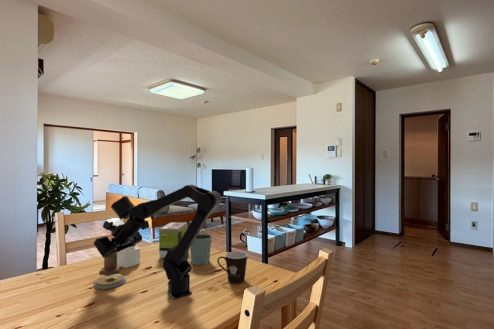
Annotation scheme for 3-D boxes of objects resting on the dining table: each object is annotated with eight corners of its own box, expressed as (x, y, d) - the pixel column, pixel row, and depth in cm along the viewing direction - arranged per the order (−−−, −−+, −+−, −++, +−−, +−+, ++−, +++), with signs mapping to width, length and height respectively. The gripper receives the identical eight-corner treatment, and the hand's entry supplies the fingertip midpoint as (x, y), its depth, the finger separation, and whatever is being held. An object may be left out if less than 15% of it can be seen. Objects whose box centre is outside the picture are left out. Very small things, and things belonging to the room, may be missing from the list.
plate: (120, 275, 114) (120, 273, 114) (129, 283, 105) (129, 281, 105) (90, 282, 106) (90, 280, 106) (97, 292, 98) (97, 289, 98)
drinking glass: (185, 262, 128) (185, 236, 129) (199, 256, 137) (199, 232, 137) (201, 267, 123) (202, 240, 123) (215, 260, 132) (216, 235, 132)
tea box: (170, 249, 150) (170, 221, 150) (188, 249, 149) (188, 222, 149) (158, 258, 135) (158, 227, 135) (178, 259, 134) (178, 228, 134)
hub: (118, 274, 112) (118, 271, 112) (126, 281, 105) (126, 278, 105) (94, 280, 106) (94, 277, 106) (100, 288, 99) (100, 285, 99)
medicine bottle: (140, 263, 127) (140, 237, 127) (125, 268, 121) (126, 241, 121) (130, 260, 131) (130, 235, 131) (116, 265, 125) (116, 238, 125)
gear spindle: (118, 267, 111) (118, 237, 111) (124, 272, 106) (124, 240, 106) (97, 272, 106) (97, 240, 106) (102, 277, 101) (102, 244, 101)
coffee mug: (251, 280, 109) (251, 254, 109) (236, 287, 103) (236, 260, 103) (231, 272, 117) (231, 248, 117) (215, 278, 111) (215, 253, 111)
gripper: (136, 208, 113) (115, 233, 117) (97, 215, 96) (74, 244, 100) (152, 229, 111) (130, 253, 114) (115, 240, 93) (90, 269, 97)
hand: (107, 254), depth 106 cm, fingers closed on gear spindle, 4 cm apart
